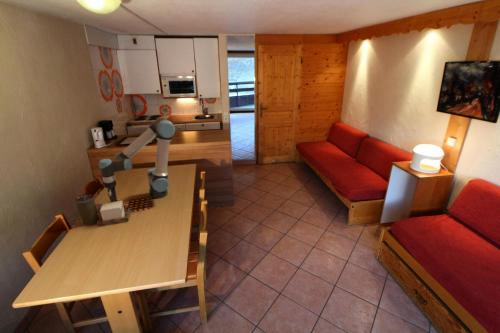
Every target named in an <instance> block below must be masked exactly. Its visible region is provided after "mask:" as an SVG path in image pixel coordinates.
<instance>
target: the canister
mask: <svg viewBox="0 0 500 333" xmlns="http://www.w3.org/2000/svg"><path fill="white" fill-rule="evenodd" d="M95 202H96V201H95V197H94V196H93V194H84V193H83V194H82V195H81V196H79V197H78V198H76V199H75V204H76V207H77V210H78V212H79V217H80V219H81V224H82V225H83V226H90V225H94V224H95V223H97V222H98V220H99V218H100V216H99V212H97V209H96V205H95Z"/></svg>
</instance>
